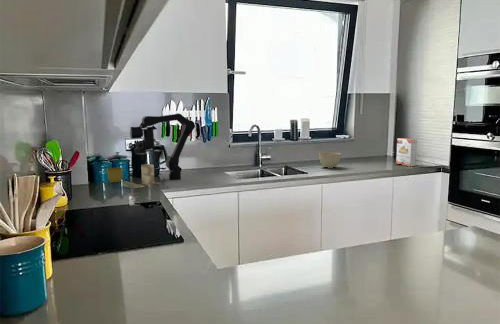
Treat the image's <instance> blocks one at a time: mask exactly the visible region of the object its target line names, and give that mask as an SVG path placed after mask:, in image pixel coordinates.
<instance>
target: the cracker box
mask: <svg viewBox="0 0 500 324" xmlns="http://www.w3.org/2000/svg"><path fill="white" fill-rule="evenodd" d="M396 139H397V141H396V157H395V158H396V160H395V164H396V163H397V164H402V165H407V166H415V167H416V163H417V162H416V159H417V144H418V143H417V142H418V141H417V139H415V138H405V137H403V138H402V137H401V138H399V137H398V138H396Z"/></svg>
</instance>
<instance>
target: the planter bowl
mask: <svg viewBox="0 0 500 324" xmlns="http://www.w3.org/2000/svg"><path fill="white" fill-rule="evenodd" d="M341 155H342V154H341V153H340V152H331V151H329V152H327V151H325V152H319V153H318V156H319V157H318V158H319V161H320V164H321V165H322V168H324V167H328V168H327V169H334V168H333V167H336V168H337V166H338V164H339V163H340V160H341Z"/></svg>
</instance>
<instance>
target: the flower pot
mask: <svg viewBox="0 0 500 324" xmlns="http://www.w3.org/2000/svg"><path fill="white" fill-rule="evenodd" d="M106 173H107V178H108V181H109V183H111V184H112V183H118V182H119V183H120V182H122V180H123V167H110V168H106Z"/></svg>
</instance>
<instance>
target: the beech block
mask: <svg viewBox="0 0 500 324" xmlns="http://www.w3.org/2000/svg"><path fill="white" fill-rule="evenodd" d="M140 165H141V167H140V169H141V184H145V186H150V185H149V184H154V181H155V165H154V164H151V163H146V164H145V165H144V164H140Z"/></svg>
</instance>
